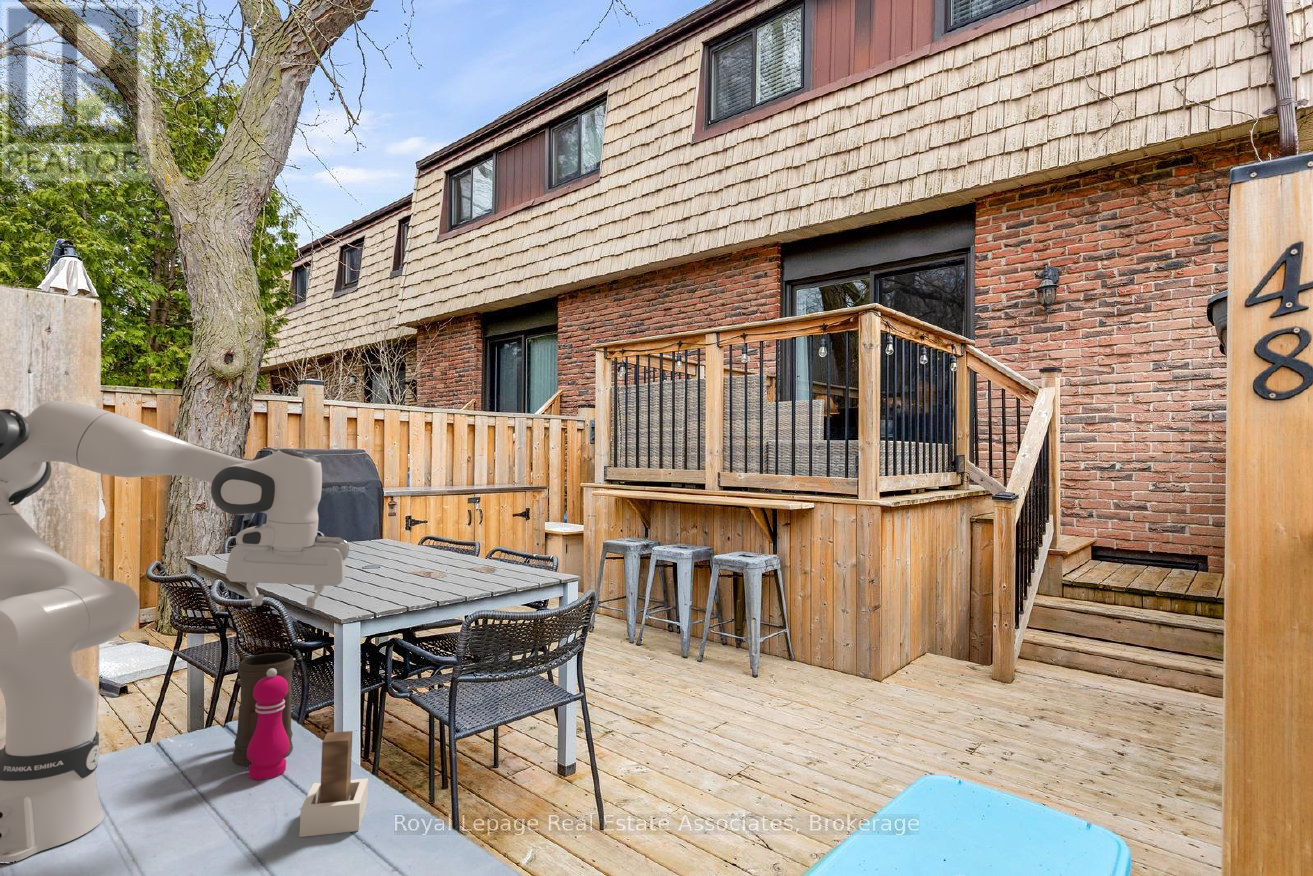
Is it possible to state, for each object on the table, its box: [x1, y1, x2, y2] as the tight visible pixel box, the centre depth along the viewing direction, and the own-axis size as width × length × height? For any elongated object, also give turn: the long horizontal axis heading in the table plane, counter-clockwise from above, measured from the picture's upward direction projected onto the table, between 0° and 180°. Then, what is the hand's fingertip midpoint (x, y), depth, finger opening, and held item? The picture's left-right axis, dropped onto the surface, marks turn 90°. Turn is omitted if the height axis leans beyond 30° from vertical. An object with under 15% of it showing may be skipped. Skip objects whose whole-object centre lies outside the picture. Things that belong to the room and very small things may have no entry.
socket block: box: [299, 777, 369, 838], centre depth 115 cm, size 9×9×4 cm
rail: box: [320, 730, 353, 803], centre depth 115 cm, size 4×4×14 cm
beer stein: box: [231, 652, 295, 766], centre depth 141 cm, size 15×11×20 cm
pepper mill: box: [247, 668, 290, 781], centre depth 132 cm, size 7×7×20 cm
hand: (284, 606), depth 130 cm, fingers open, 8 cm apart
